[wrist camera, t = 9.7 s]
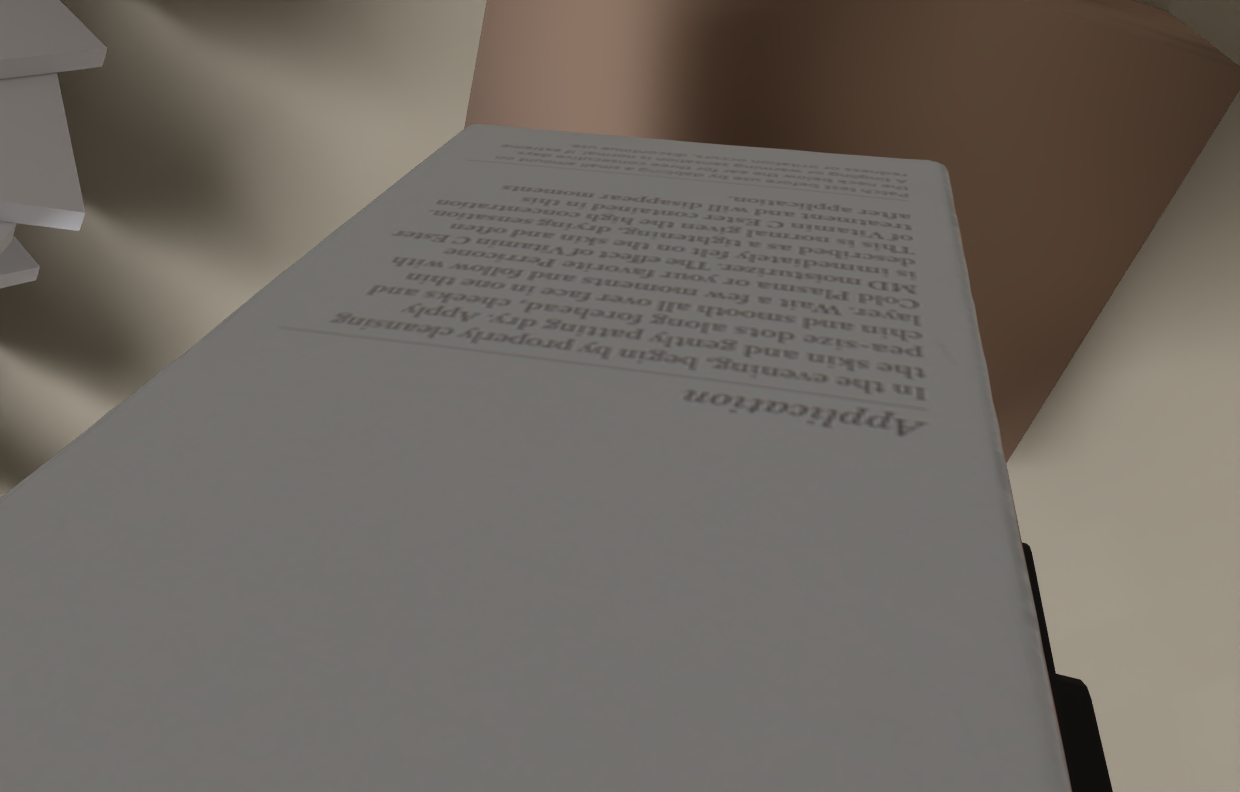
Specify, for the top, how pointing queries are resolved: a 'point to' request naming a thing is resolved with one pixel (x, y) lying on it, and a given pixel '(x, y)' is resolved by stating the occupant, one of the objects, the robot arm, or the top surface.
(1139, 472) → the top surface
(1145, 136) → the walnut block
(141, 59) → the top surface
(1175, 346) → the top surface
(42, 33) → the spiral staircase
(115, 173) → the top surface
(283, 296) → the small box
